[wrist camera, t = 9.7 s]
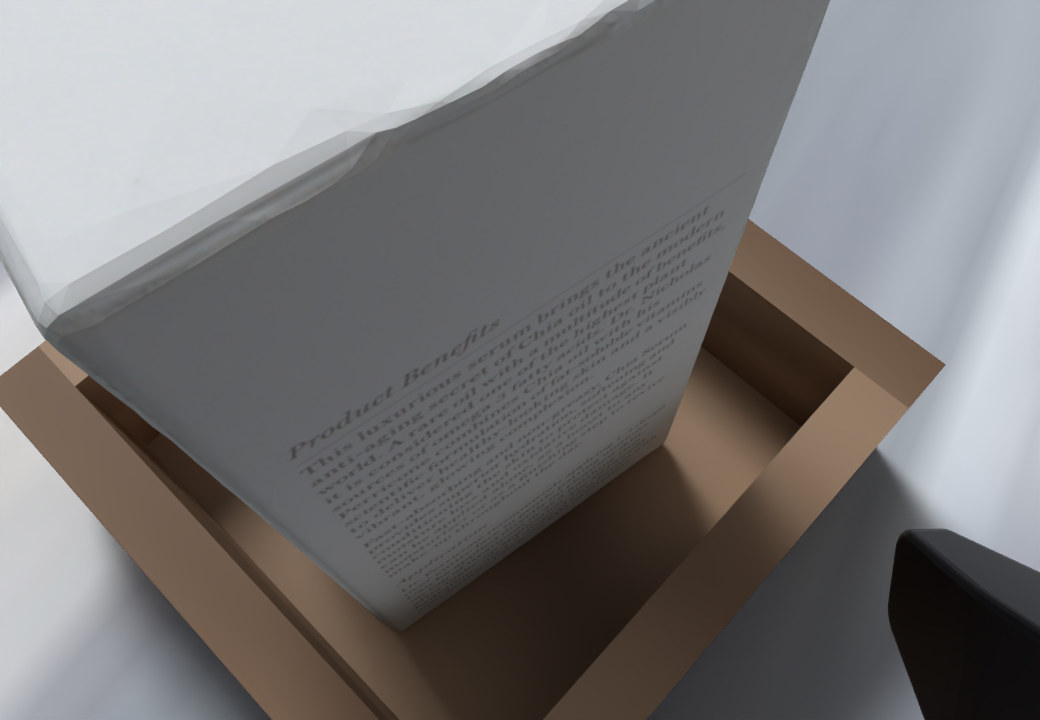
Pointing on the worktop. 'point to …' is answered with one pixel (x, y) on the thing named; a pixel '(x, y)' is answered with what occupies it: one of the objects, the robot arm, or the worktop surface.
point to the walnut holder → (543, 559)
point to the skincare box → (391, 244)
